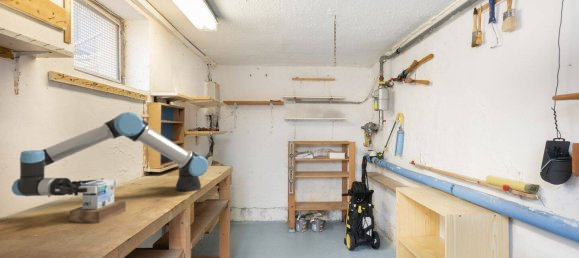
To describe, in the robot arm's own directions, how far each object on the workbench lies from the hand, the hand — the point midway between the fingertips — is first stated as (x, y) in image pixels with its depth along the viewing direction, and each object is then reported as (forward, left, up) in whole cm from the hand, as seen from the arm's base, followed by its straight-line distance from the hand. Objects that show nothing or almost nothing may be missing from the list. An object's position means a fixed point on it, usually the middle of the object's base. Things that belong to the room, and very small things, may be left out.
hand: (106, 186), depth 114 cm
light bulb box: (+3, 0, -9) cm, 9 cm away
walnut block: (+3, 0, -14) cm, 14 cm away
